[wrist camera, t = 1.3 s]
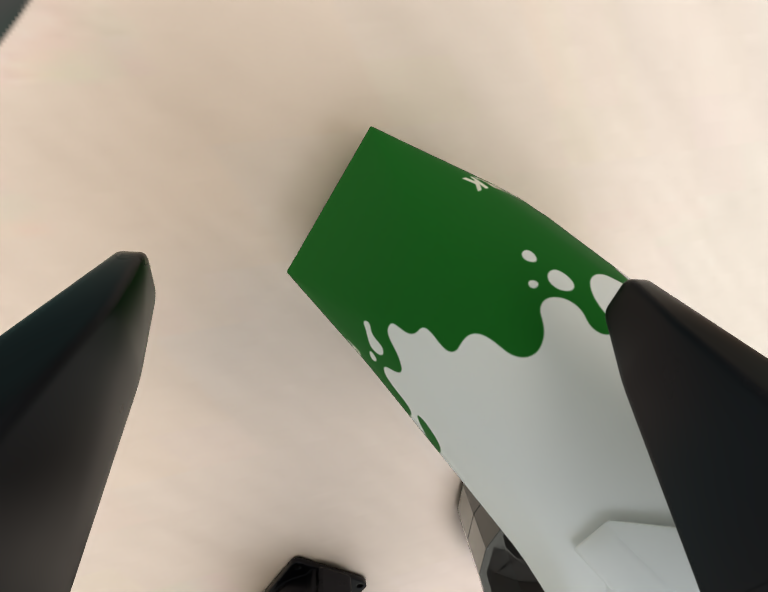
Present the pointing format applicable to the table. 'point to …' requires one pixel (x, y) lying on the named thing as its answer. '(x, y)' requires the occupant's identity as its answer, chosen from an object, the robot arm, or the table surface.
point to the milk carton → (497, 361)
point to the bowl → (493, 550)
